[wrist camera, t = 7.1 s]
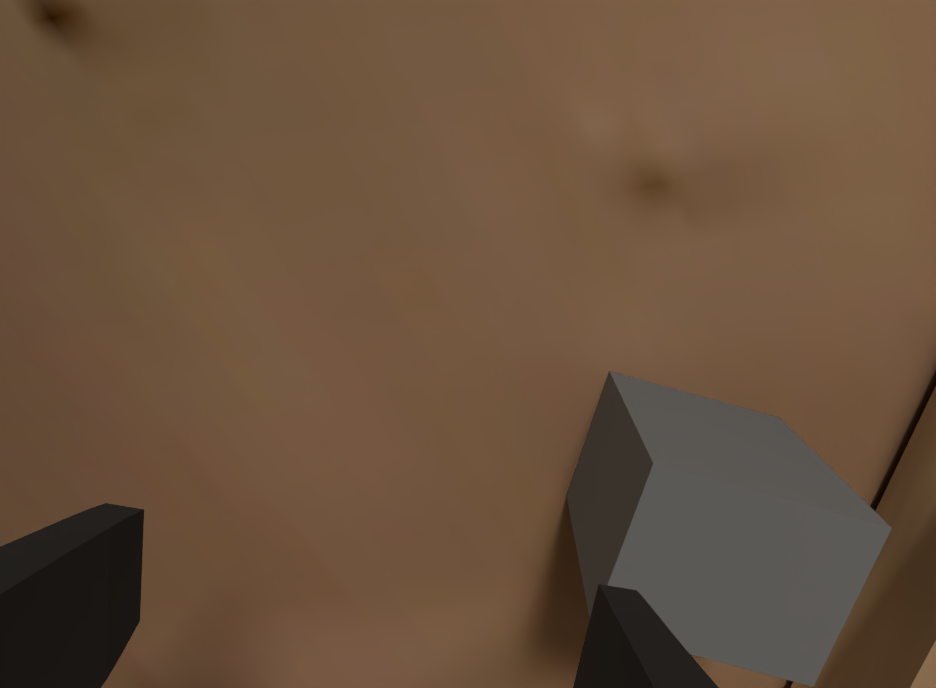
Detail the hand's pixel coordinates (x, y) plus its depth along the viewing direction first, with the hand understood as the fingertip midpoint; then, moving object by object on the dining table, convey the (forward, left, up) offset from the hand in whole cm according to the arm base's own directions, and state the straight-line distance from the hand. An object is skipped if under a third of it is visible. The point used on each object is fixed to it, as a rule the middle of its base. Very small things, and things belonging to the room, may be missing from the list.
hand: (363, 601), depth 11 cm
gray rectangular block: (-7, 0, -10) cm, 12 cm away
